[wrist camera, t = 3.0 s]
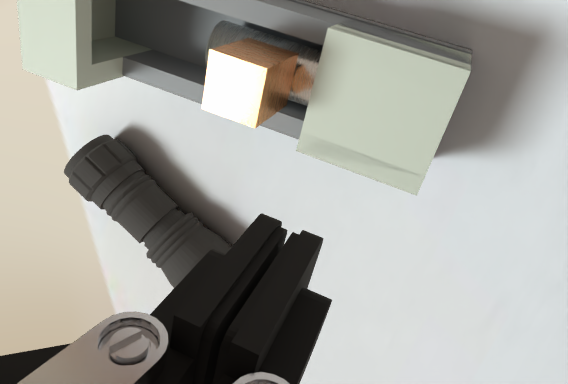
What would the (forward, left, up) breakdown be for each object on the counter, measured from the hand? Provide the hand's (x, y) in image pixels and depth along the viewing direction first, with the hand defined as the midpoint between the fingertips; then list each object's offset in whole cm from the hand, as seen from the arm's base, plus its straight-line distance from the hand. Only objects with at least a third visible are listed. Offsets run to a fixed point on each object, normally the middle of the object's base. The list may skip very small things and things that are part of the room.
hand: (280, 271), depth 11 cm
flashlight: (+15, -14, -20) cm, 29 cm away
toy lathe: (0, -9, -20) cm, 21 cm away
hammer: (0, -4, -18) cm, 18 cm away
